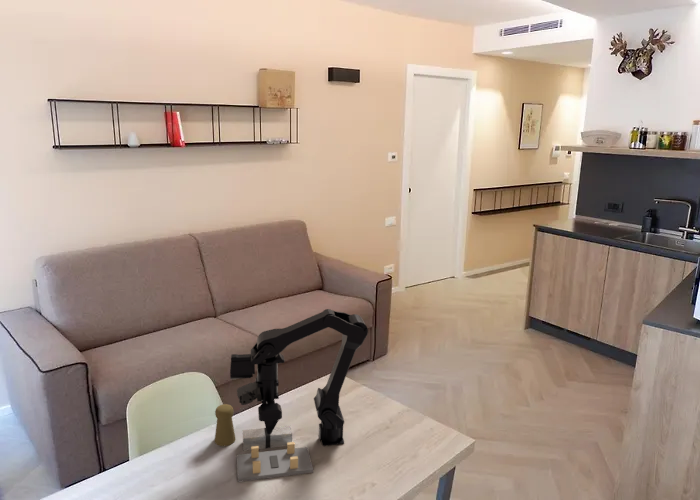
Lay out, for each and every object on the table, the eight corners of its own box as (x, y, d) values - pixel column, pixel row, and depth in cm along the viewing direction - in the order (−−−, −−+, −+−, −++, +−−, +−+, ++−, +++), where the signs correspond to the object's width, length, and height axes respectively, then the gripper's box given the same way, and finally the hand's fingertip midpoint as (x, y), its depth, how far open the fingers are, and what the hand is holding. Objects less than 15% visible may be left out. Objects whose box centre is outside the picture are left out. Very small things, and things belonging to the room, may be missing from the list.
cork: (230, 447, 152) (229, 413, 149) (210, 444, 153) (209, 410, 150) (238, 435, 158) (238, 402, 155) (220, 432, 159) (219, 399, 156)
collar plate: (307, 449, 153) (307, 437, 152) (313, 472, 143) (313, 459, 142) (236, 457, 148) (236, 445, 147) (237, 481, 139) (237, 468, 138)
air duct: (290, 437, 158) (290, 425, 157) (292, 445, 154) (292, 433, 153) (242, 442, 155) (242, 430, 154) (243, 450, 151) (243, 438, 150)
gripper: (237, 363, 156) (238, 409, 160) (239, 395, 138) (240, 447, 142) (275, 360, 159) (275, 406, 163) (282, 391, 141) (282, 442, 145)
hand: (267, 424), depth 153 cm, fingers open, 9 cm apart
